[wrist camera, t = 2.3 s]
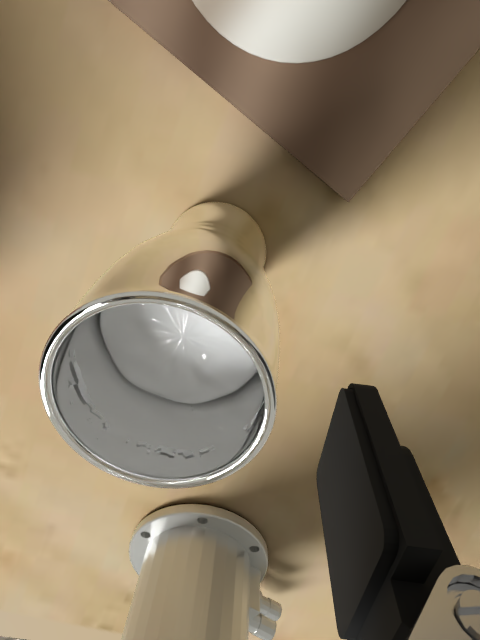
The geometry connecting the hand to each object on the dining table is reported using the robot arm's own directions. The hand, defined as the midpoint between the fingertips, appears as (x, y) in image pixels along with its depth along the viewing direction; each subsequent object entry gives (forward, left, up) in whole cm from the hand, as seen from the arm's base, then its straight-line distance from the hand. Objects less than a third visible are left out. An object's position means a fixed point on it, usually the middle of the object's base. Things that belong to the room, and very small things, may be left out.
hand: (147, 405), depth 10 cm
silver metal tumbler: (0, +1, -16) cm, 16 cm away
